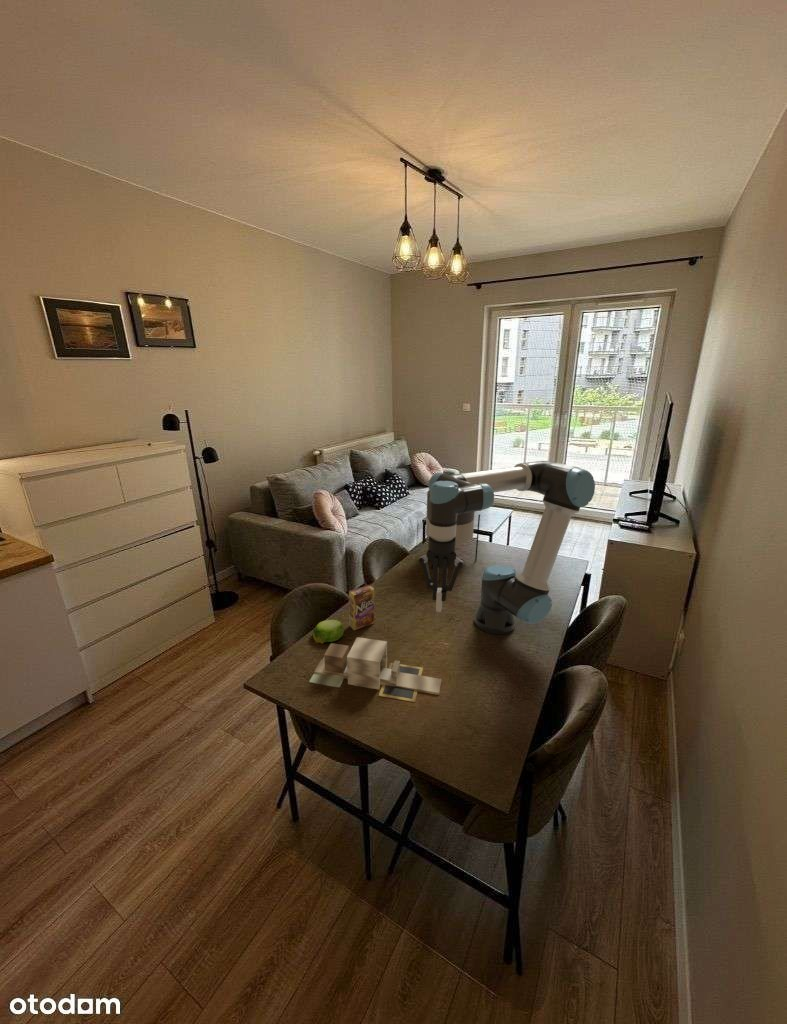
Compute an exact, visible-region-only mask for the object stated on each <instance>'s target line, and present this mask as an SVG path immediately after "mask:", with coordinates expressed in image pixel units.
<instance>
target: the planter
mask: <svg viewBox="0 0 787 1024" xmlns="http://www.w3.org/2000/svg"><path fill="white" fill-rule="evenodd" d="M429 498H430V490H429V489H428V491H427V495H426V521H425V523H426V525H425V535H426V537H427V538H428V539H429V520H430V519H429V516H430V499H429ZM475 512H476V511H474V512H469V513H463V514H458V515H457V523H456V536H455V539H456V540H455V546H456V545H462V544H466V543H469V542H470V541H471V540H476V545H475V556H474V558H475V559H474V560H475V561H474V562H477V561H478V560H477V558H478V557H477V556H478V547H479V546H478V545H479V535H480V534H479V532H480V520H481V514H478V517H477V519H478V520H477V529H476V530H477V533H476V537H474V525H475V524H474V522H475ZM431 569H434V566H433V565H432V564H431Z"/></svg>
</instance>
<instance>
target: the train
mask: <svg viewBox="0 0 787 1024" xmlns="http://www.w3.org/2000/svg"><path fill="white" fill-rule="evenodd" d="M349 647H350V646H349V645H345V644H340V643H333V642H331V643H330V644H329V646H328V648H327V649H326V651H325V653H324V655H323V657H324V661H325V666H324V668H323V672H328V673H334V674H340V675H346V676H348V673H347V656H348V654H349V652H350V650H349V649H350V648H349ZM393 663H394V664H393V667H392V669H388V668H389V667H387V668H381V667H380V681H381V682H387V683H393V684H396V683H397V680H398V677H399V674H400V664H401V661H400V660H397V659H396V660H394V661H393Z"/></svg>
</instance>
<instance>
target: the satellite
mask: <svg viewBox="0 0 787 1024" xmlns="http://www.w3.org/2000/svg"><path fill="white" fill-rule="evenodd" d="M393 664H394V662H390V663H389V665H388V641H387V640H386V641H385V640H381V639H380V640H379V639H372V638H365V637H356V638H355V640H354V642H353V645H352V646H351V648H350V650H349V654H348V656H347V673H348V676H346V675H340V674H334V673H328V672H323V668H324V666H325V661H324V656H323V658H322V659H321V660H320V661H319V663H318V664H317V666H316V667H315V669H314V673H313V674H312V676H311V678H310V679H309V681H308V682H309V683H311V684H315V685H316V684H317V685H323V686H328V687H334V688H337V689H338V688H341V686H342V684H343V682H344V679H345V680H347V685H350V686H355V687H361V688H362V687H363V688H367V689H374V690H379V693H378V697H383V698H387V699H388V698H389V699H394V700H398V701H399V700H401V701H406V702H411V703H416V700H417V699H416V698H417V695H418V692H419V693H426V694H430V695H431V694H432V695H438V696H440V691H441V685H442V678H438V677H431V676H425V675H422V674H423V670H424V667H421V666H416V665H415V666H414V665H408V664H401V663H400V674H399V677H398V680H397V683H396V684H393V683H387V682H381V681H380V667H381V668H388V669H392V667H393Z"/></svg>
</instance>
